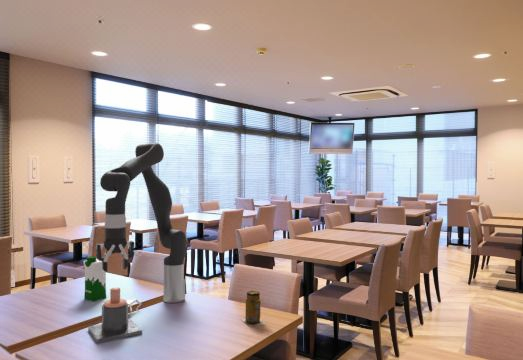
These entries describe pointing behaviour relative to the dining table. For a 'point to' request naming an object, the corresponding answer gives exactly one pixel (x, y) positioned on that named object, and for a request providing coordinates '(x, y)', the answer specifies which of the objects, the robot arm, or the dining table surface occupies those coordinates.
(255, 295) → the condiment
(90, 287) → the milk carton
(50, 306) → the dining table surface
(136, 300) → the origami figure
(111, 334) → the flanged pipe socket
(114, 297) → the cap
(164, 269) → the robot arm
